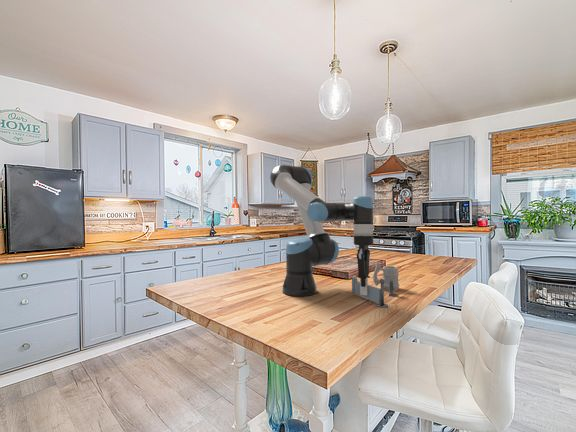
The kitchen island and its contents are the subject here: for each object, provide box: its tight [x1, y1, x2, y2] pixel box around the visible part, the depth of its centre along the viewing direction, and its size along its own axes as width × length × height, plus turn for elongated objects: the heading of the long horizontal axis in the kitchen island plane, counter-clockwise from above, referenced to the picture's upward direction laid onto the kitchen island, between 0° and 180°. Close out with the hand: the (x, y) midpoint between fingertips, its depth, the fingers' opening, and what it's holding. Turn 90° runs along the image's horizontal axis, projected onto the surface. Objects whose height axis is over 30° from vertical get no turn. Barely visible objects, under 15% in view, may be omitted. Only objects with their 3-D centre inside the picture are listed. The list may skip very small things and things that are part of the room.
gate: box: [351, 275, 381, 304], centre depth 113 cm, size 16×2×7 cm, turn 25°
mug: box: [372, 262, 400, 291], centre depth 129 cm, size 8×12×12 cm, turn 87°
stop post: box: [388, 280, 399, 298], centre depth 118 cm, size 3×4×6 cm
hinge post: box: [376, 278, 389, 309], centre depth 104 cm, size 4×4×10 cm
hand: (363, 294), depth 110 cm, fingers closed
